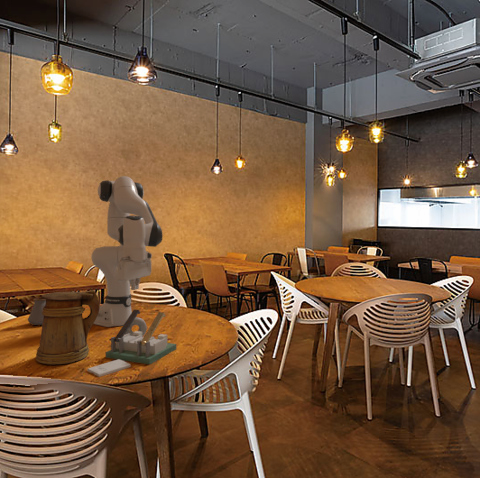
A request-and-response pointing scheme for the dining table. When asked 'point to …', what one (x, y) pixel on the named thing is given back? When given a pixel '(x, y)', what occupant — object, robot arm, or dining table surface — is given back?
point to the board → (140, 348)
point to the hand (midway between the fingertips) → (135, 289)
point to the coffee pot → (37, 312)
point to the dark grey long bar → (126, 325)
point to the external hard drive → (109, 367)
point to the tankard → (66, 326)
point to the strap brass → (152, 328)
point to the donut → (140, 323)
